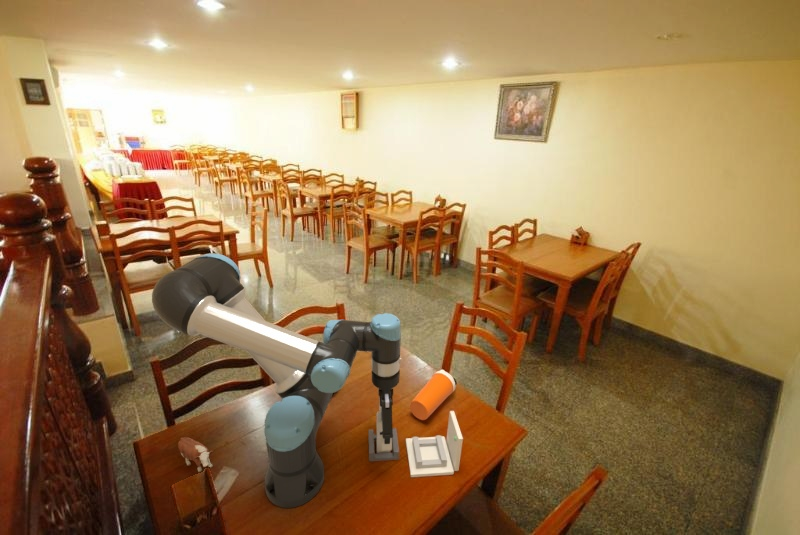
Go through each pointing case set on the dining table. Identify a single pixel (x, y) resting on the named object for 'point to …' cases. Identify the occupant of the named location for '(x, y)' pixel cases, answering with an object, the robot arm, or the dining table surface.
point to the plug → (378, 436)
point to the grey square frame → (384, 455)
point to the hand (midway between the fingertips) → (385, 429)
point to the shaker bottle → (432, 394)
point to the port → (436, 452)
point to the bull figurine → (194, 452)
